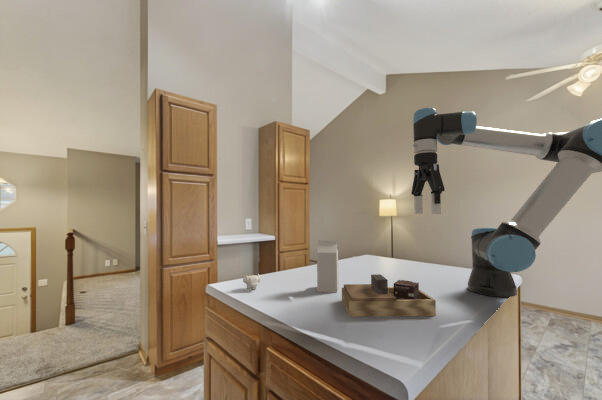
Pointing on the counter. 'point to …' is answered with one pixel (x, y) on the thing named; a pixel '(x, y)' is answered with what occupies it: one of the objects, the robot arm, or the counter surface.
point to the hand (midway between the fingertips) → (426, 213)
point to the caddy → (390, 306)
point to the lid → (370, 290)
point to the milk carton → (327, 266)
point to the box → (406, 290)
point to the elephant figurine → (251, 281)
